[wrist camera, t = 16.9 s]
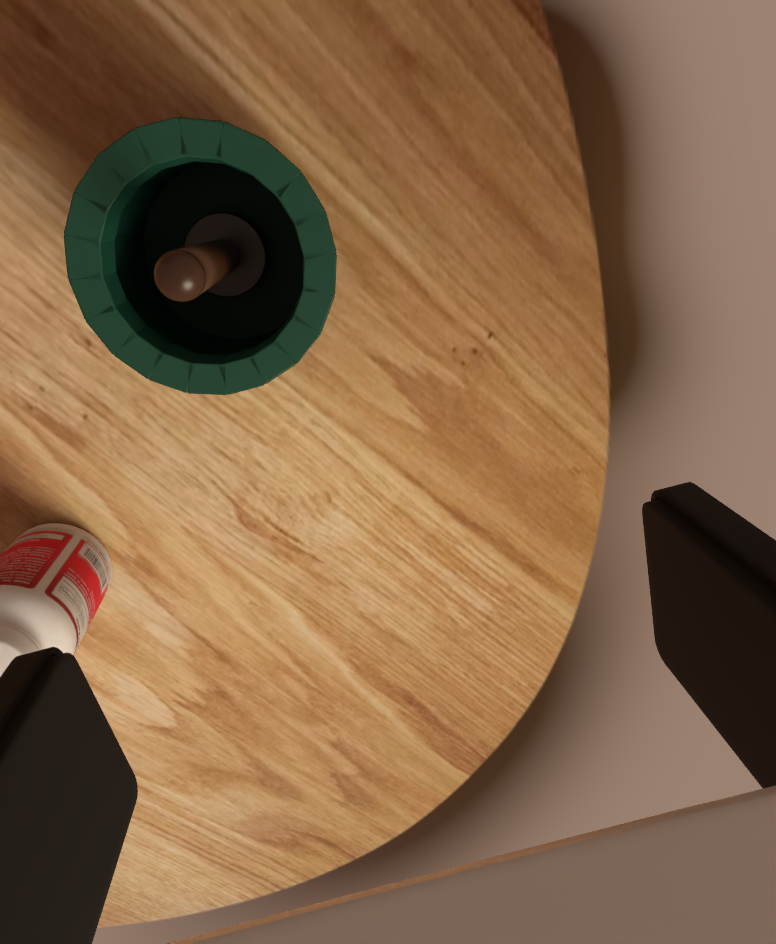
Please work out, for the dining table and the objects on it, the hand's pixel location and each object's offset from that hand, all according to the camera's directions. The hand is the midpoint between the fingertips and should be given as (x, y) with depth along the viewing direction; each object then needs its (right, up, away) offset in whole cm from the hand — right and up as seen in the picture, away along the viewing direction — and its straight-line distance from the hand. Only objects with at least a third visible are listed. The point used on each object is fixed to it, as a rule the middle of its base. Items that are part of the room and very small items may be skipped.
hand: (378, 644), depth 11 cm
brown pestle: (-8, +14, +25) cm, 30 cm away
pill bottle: (-20, -3, +31) cm, 37 cm away
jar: (-8, +15, +25) cm, 30 cm away
